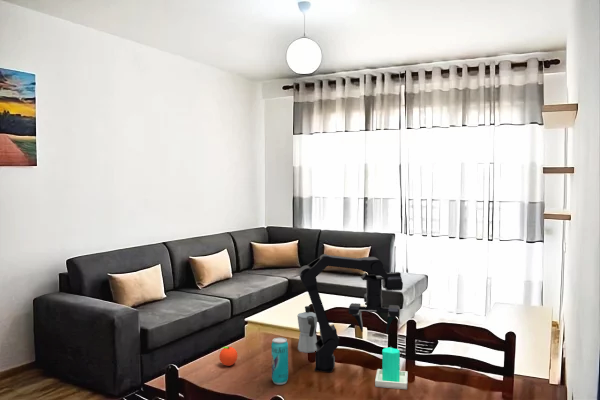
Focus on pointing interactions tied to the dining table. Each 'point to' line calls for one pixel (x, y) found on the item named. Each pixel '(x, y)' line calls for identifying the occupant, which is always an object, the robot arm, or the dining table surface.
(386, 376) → the candle
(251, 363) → the dining table surface
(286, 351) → the beverage can
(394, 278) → the robot arm
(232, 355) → the clementine
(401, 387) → the tray
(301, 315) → the coffee maker
